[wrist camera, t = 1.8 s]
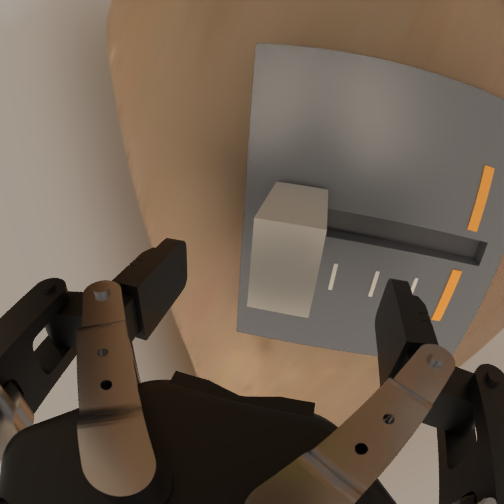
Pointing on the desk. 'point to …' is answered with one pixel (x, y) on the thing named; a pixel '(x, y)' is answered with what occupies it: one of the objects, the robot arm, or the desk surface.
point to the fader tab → (287, 249)
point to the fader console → (377, 189)
